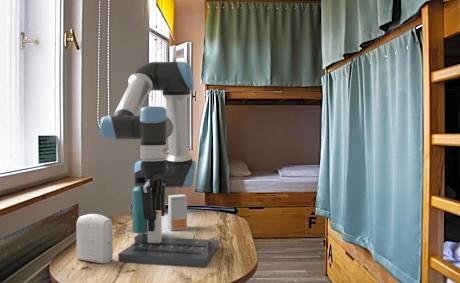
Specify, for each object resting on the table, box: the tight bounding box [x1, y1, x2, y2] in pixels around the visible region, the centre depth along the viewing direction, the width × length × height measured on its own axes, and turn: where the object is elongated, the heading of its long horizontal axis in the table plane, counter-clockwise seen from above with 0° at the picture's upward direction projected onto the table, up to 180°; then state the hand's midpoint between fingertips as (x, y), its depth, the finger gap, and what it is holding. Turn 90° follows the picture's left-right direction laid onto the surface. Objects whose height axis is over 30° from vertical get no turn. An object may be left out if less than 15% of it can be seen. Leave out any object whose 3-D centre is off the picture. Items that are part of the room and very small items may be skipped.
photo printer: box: [75, 213, 114, 264], centre depth 92 cm, size 10×4×12 cm, turn 69°
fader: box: [147, 210, 163, 243], centre depth 99 cm, size 2×4×9 cm, turn 79°
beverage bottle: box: [131, 176, 148, 235], centre depth 114 cm, size 6×7×20 cm
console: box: [117, 234, 220, 268], centre depth 96 cm, size 16×24×4 cm, turn 79°
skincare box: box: [167, 193, 188, 232], centre depth 122 cm, size 6×4×12 cm
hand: (154, 240), depth 99 cm, fingers closed on fader, 2 cm apart
